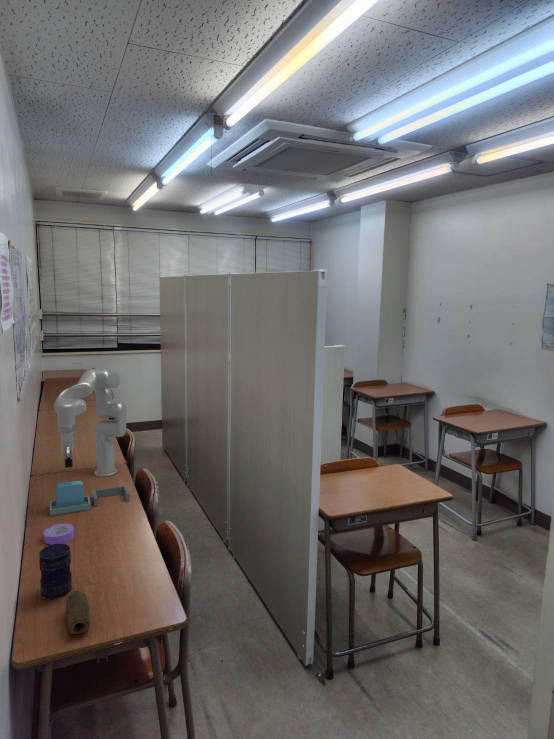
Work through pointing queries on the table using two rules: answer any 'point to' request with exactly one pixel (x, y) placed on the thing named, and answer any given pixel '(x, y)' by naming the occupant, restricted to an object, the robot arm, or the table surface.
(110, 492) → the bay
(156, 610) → the table surface
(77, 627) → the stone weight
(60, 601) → the table surface
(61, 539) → the masking tape
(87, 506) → the tray
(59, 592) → the storage jar
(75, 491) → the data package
